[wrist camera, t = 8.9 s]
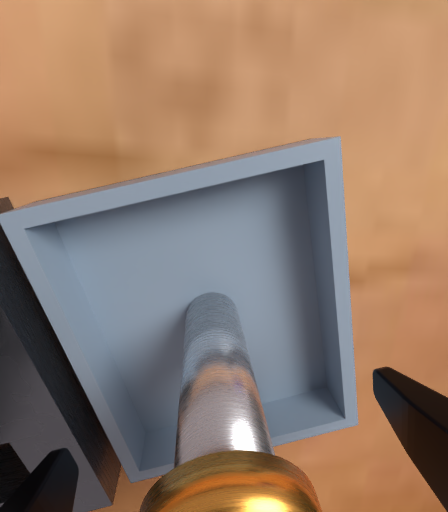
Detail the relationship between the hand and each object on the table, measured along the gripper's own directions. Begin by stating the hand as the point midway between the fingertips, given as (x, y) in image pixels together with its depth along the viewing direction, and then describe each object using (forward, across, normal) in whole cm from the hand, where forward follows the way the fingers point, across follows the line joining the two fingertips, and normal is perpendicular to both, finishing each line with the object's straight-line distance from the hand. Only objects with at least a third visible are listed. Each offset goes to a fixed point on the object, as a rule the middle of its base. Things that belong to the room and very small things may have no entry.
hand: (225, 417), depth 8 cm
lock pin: (+5, 0, 0) cm, 5 cm away
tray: (+6, 0, 0) cm, 6 cm away
